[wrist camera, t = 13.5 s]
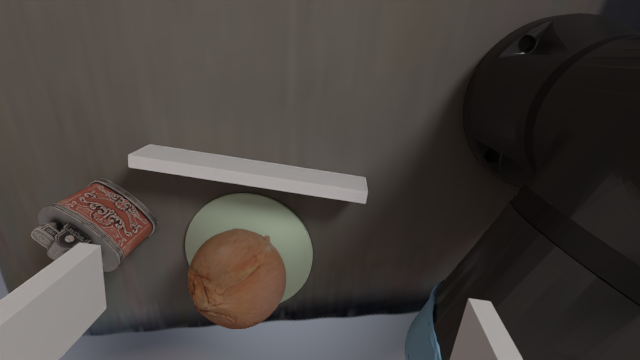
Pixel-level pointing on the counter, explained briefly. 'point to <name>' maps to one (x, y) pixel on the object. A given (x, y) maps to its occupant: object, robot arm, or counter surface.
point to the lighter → (96, 223)
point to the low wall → (250, 173)
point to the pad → (257, 231)
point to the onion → (237, 278)
